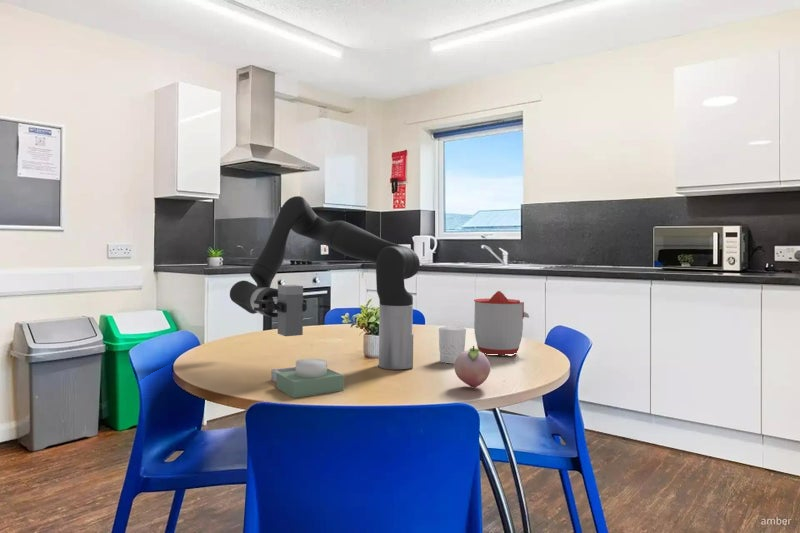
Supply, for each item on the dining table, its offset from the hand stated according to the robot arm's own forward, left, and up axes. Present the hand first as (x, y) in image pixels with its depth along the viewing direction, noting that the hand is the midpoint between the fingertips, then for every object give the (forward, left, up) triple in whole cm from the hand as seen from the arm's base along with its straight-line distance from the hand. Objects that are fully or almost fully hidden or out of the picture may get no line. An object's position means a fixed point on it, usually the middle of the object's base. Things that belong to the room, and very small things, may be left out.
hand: (294, 307), depth 128 cm
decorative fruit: (-42, +8, -18) cm, 46 cm away
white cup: (-43, -22, -18) cm, 52 cm away
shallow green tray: (-2, +4, -18) cm, 18 cm away
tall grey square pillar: (+1, -2, -7) cm, 7 cm away
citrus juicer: (-61, -34, -18) cm, 72 cm away
